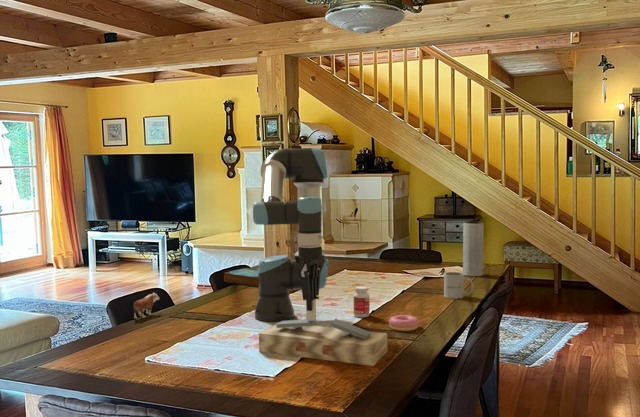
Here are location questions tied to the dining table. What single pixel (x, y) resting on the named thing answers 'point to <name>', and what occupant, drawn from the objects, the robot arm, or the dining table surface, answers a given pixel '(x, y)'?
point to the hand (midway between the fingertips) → (311, 319)
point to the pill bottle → (361, 302)
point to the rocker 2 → (350, 329)
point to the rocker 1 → (295, 323)
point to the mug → (455, 285)
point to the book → (243, 277)
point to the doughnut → (403, 322)
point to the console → (323, 344)
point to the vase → (473, 248)
